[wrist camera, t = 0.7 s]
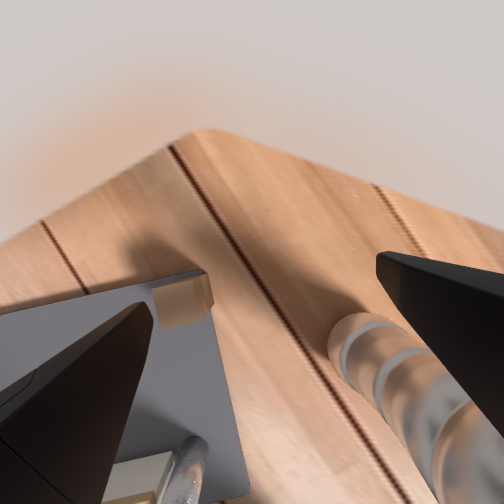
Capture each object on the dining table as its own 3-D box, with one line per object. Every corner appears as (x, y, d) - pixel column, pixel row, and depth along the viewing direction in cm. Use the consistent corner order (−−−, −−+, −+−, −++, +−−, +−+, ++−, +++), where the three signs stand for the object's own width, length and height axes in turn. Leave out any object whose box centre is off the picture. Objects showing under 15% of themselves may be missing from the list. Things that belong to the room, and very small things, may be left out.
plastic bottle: (312, 318, 23) (721, 750, 3) (378, 298, 23) (1227, 584, 3) (332, 382, 23) (890, 1266, 3) (399, 362, 23) (1404, 1090, 3)
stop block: (214, 303, 23) (201, 320, 17) (184, 310, 23) (160, 330, 17) (207, 273, 23) (192, 279, 17) (177, 280, 23) (151, 289, 17)
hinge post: (213, 451, 23) (196, 539, 16) (187, 457, 23) (158, 548, 16) (207, 425, 23) (188, 500, 16) (181, 431, 23) (149, 509, 16)
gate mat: (249, 483, 23) (249, 494, 22) (3, 540, 23) (-8, 553, 22) (201, 269, 23) (199, 269, 22) (-43, 324, 23) (-56, 327, 22)
